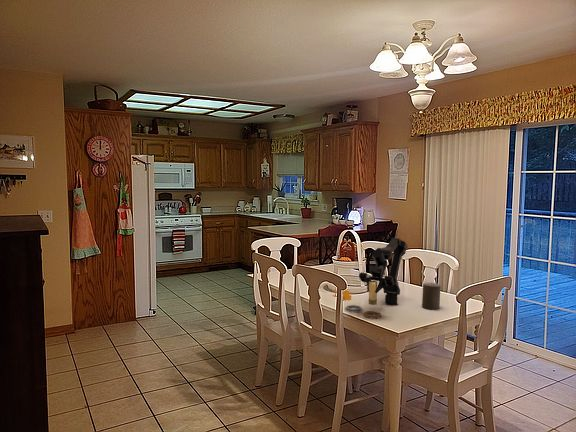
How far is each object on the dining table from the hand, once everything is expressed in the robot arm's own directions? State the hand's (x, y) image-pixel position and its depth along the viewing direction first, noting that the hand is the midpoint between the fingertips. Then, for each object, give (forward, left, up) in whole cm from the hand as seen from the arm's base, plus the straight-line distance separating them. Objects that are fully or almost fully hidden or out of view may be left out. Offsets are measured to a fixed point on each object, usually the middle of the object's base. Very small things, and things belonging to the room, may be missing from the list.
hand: (371, 292), depth 231 cm
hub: (+9, -11, -13) cm, 20 cm away
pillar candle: (-35, -24, -14) cm, 44 cm away
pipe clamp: (+16, -35, -14) cm, 41 cm away
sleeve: (-1, -1, -7) cm, 7 cm away
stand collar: (-1, -1, -13) cm, 13 cm away
